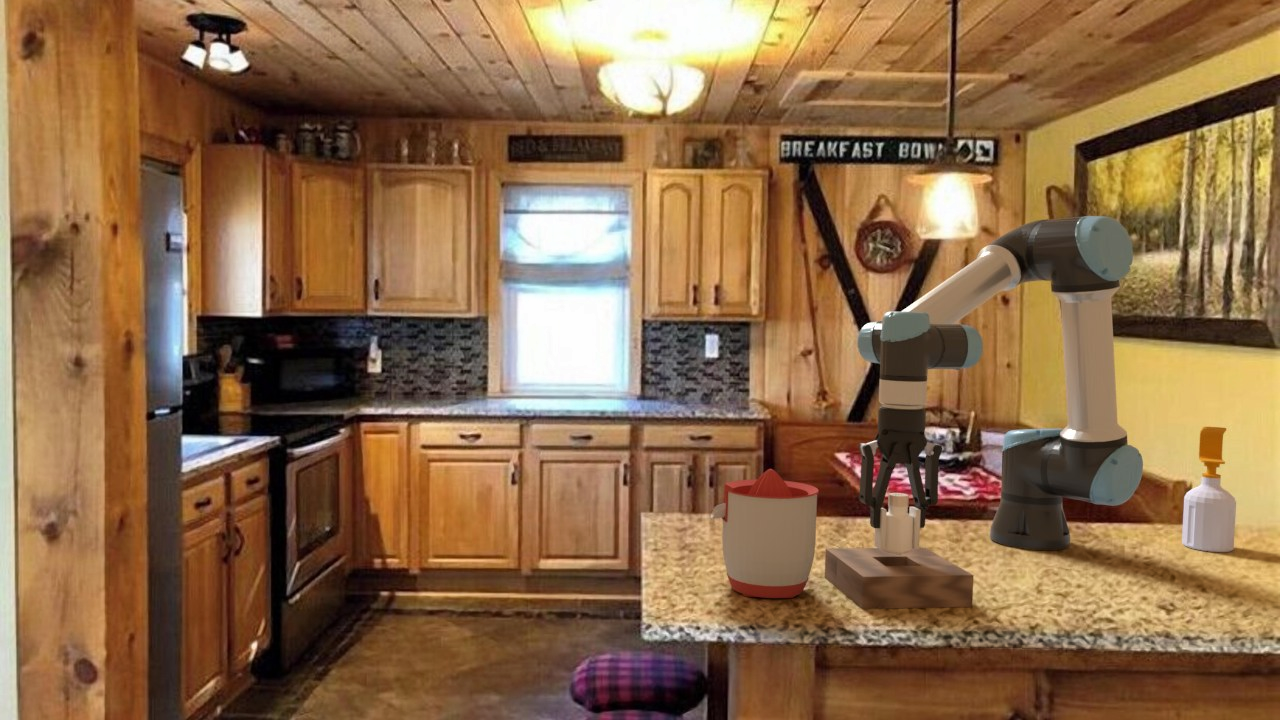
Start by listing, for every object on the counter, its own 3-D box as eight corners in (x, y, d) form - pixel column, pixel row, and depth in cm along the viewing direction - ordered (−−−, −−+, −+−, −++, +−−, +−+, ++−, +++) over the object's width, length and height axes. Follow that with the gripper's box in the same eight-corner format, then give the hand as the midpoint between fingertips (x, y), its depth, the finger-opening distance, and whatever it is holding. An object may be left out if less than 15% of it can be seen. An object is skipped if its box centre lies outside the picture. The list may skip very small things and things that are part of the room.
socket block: (924, 575, 175) (925, 547, 175) (972, 606, 157) (973, 575, 157) (824, 577, 173) (825, 548, 172) (862, 608, 155) (863, 576, 155)
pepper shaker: (892, 547, 167) (894, 491, 167) (913, 552, 165) (915, 494, 164) (879, 551, 165) (881, 493, 164) (900, 556, 162) (903, 497, 161)
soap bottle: (1185, 549, 200) (1191, 427, 199) (1179, 540, 208) (1185, 422, 207) (1236, 555, 196) (1243, 430, 195) (1229, 545, 205) (1235, 425, 204)
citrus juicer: (706, 575, 172) (709, 459, 171) (808, 578, 171) (812, 462, 170) (710, 602, 156) (713, 475, 155) (822, 606, 156) (826, 478, 155)
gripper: (944, 404, 168) (939, 541, 170) (840, 403, 166) (835, 542, 167) (965, 409, 161) (959, 552, 162) (856, 407, 158) (851, 553, 160)
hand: (896, 547), depth 165 cm, fingers closed on pepper shaker, 5 cm apart
